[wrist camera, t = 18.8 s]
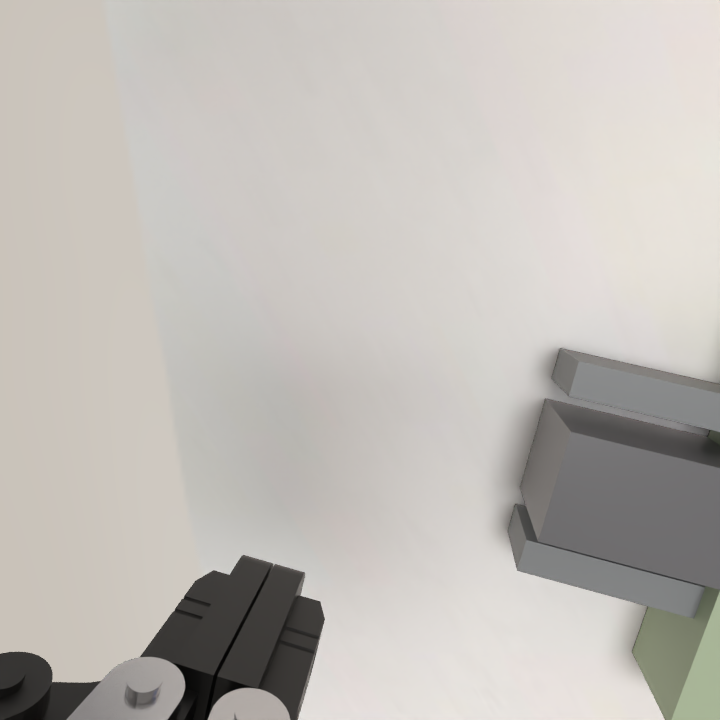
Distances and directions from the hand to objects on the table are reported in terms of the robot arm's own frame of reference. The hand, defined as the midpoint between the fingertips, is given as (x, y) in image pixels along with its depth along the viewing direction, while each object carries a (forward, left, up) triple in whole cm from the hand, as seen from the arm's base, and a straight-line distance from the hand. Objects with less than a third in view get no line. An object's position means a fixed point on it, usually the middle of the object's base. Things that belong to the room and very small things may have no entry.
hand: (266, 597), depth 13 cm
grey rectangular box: (+13, 0, -18) cm, 22 cm away
